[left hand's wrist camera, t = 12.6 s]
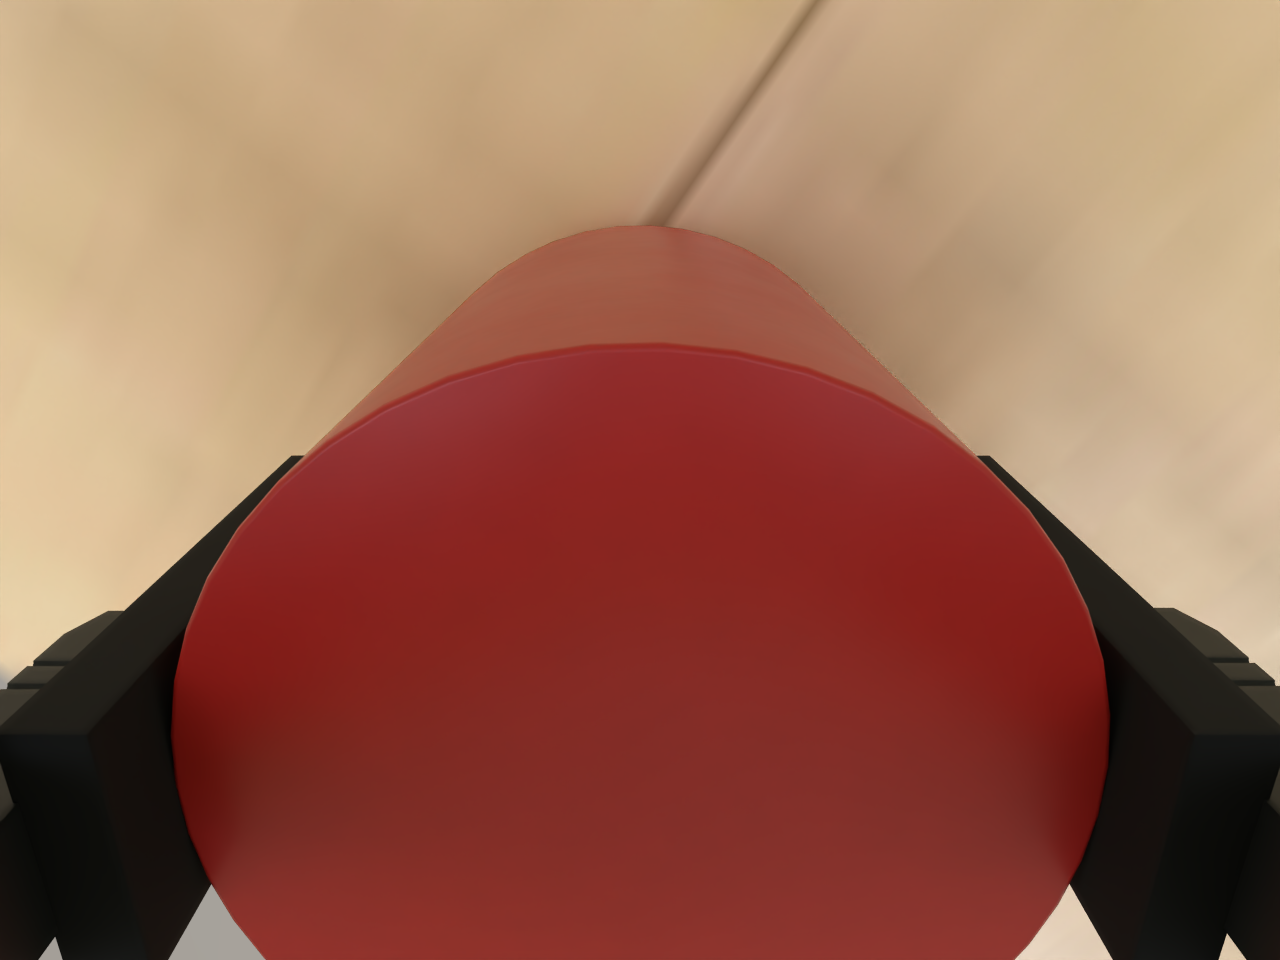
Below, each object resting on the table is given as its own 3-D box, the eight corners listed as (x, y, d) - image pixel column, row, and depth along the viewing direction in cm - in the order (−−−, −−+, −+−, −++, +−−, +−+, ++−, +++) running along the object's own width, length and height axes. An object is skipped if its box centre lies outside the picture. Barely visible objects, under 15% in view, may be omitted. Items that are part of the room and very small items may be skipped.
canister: (485, 691, 19) (354, 1163, 10) (347, 286, 16) (-8, 475, 7) (895, 612, 18) (1126, 1047, 10) (834, 173, 15) (1095, 227, 7)
